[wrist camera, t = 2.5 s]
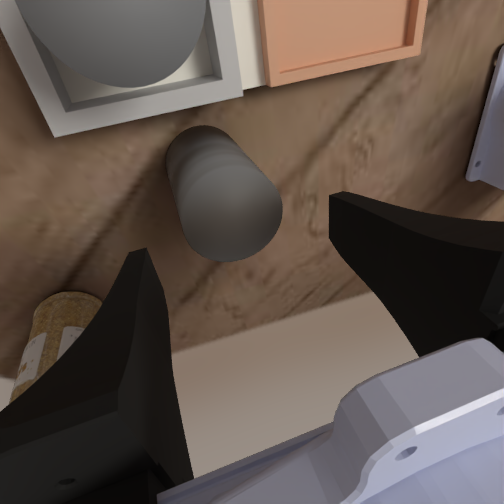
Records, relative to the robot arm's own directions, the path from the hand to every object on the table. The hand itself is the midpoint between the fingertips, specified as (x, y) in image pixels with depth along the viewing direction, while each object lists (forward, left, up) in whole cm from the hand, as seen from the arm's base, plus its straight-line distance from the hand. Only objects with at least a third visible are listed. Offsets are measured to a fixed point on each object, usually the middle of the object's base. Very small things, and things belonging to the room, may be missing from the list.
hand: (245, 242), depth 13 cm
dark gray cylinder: (0, 0, -9) cm, 9 cm away
